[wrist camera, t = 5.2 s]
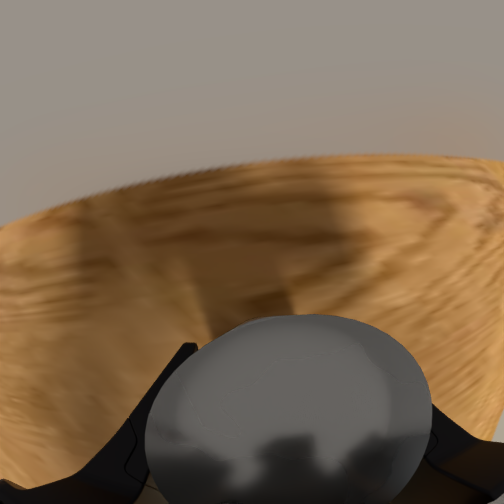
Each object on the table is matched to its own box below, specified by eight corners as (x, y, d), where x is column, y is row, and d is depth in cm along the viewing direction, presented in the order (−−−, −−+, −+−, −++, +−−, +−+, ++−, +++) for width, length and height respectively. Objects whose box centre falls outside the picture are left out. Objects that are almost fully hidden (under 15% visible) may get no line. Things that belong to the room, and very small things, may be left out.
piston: (323, 359, 15) (464, 426, 3) (261, 413, 14) (278, 567, 2) (267, 299, 16) (315, 244, 4) (204, 354, 15) (92, 432, 3)
